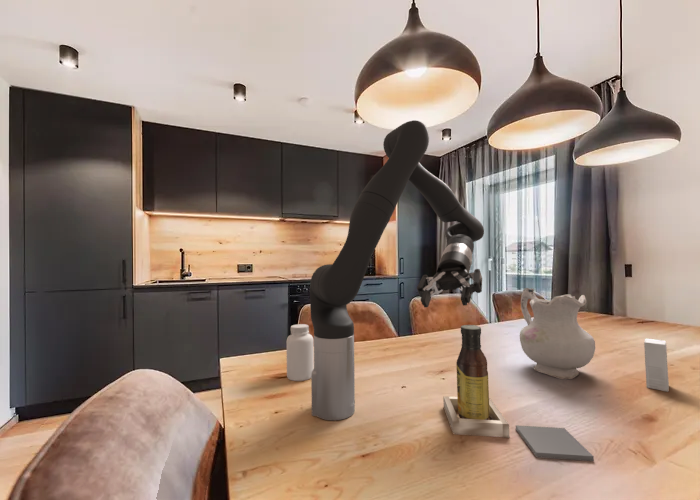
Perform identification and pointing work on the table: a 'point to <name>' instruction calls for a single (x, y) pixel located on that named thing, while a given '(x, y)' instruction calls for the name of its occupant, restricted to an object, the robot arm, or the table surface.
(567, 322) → the ceramic pitcher
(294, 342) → the pill bottle
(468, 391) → the sauce bottle
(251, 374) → the table surface
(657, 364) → the skincare box
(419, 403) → the table surface
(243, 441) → the table surface
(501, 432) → the pocket frame
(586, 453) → the coaster
